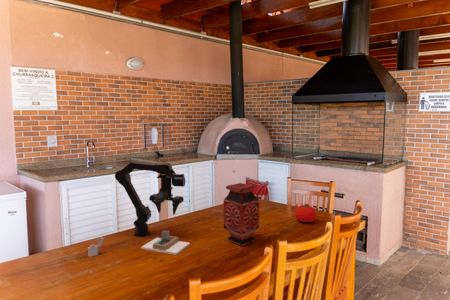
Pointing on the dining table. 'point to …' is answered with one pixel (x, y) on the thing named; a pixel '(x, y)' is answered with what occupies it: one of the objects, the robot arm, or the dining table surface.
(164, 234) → the grey block
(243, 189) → the vase
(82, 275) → the dining table surface
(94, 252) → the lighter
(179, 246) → the seat board
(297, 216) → the tomato
